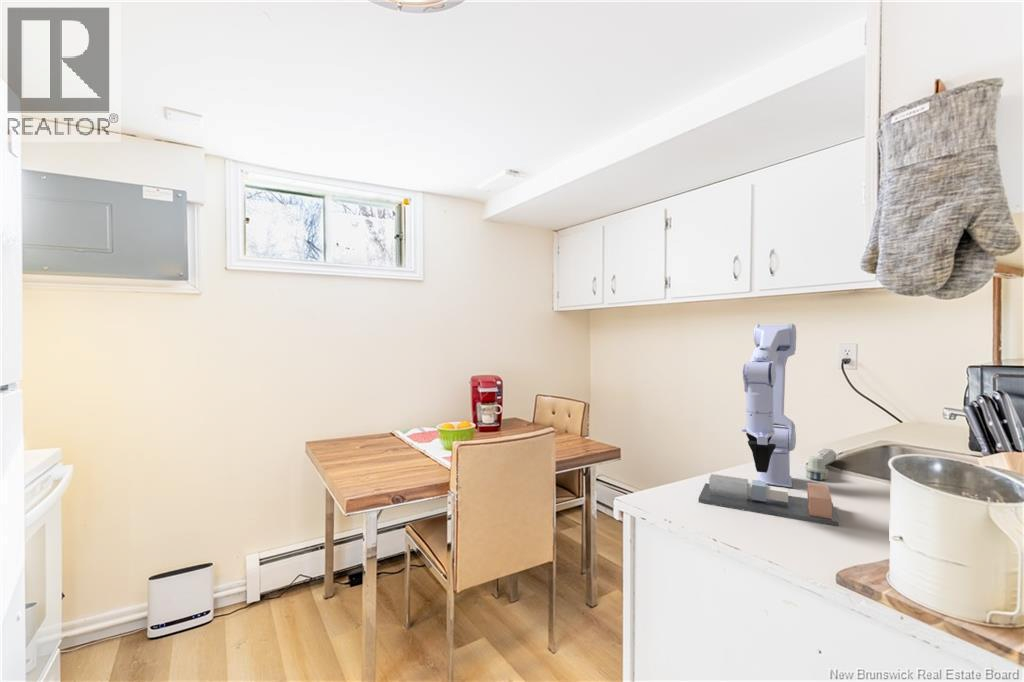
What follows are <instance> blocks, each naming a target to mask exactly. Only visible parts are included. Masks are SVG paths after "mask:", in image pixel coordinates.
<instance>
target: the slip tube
mask: <svg viewBox="0 0 1024 682" xmlns="http://www.w3.org/2000/svg"><path fill="white" fill-rule="evenodd" d="M747 496H751V497H752V500H758V501H765V502H766V499H770V500H776V501H783V502H788V496H789V489H788V488H785V487H777V486H776V487H775V486H771V485H770V486H768V485H767V484H766V482H765V481H758V479H752V481H751V483H749V482H748V484H747Z"/></svg>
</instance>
